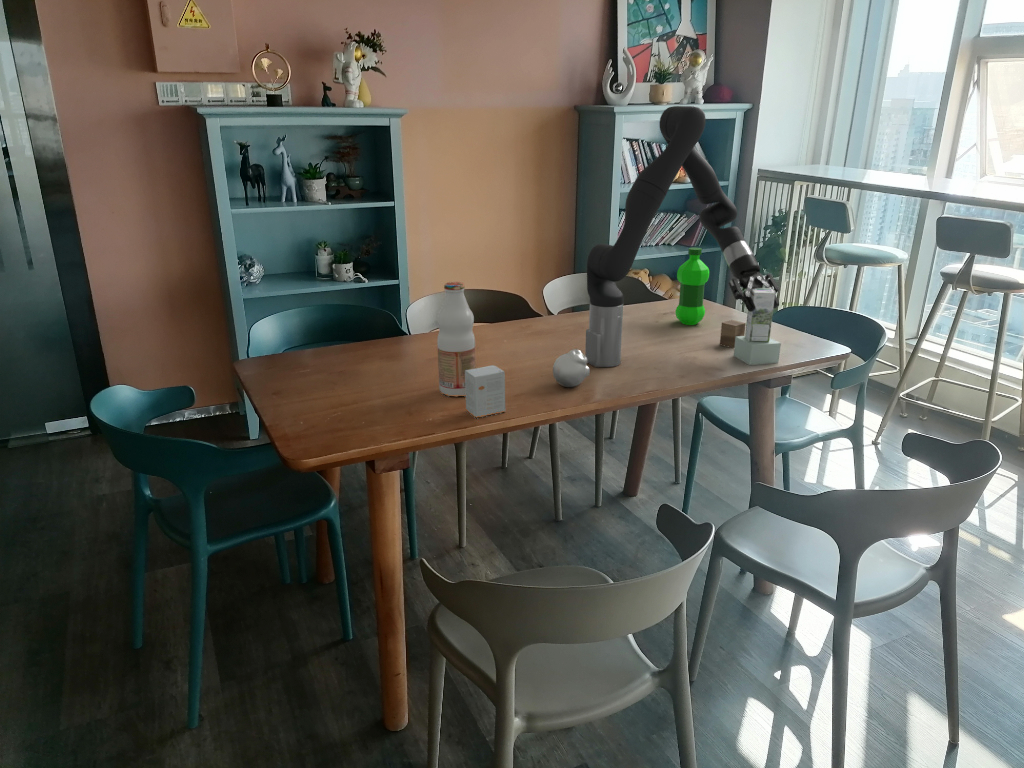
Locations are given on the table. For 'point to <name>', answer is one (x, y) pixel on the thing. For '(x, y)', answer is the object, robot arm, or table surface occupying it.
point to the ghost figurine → (571, 368)
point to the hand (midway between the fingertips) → (764, 308)
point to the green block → (757, 351)
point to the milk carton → (760, 315)
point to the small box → (485, 390)
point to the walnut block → (731, 332)
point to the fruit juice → (455, 340)
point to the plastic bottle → (692, 288)
